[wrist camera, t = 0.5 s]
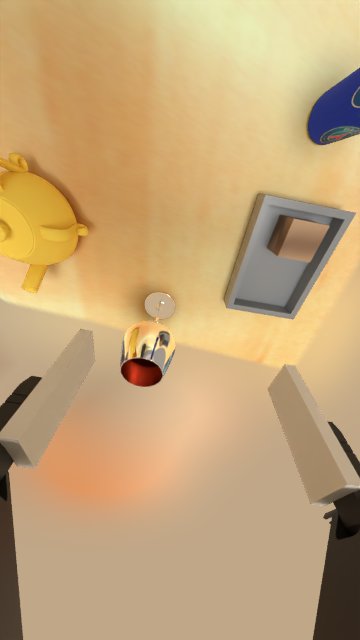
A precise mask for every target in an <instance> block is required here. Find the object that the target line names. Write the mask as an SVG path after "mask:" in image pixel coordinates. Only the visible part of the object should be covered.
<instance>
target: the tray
mask: <svg viewBox="0 0 360 640" xmlns="http://www.w3.org/2000/svg"><path fill="white" fill-rule="evenodd" d="M355 214H356V213H354V212H349V211H344V210H339V209H334V208H329V207H324V206H319V205H314V204H309V203H305V202H300V201H295V200H290V199H285V198H280V197H275V196H270V195H264V194H258V196H257V200H256V203H255V206H254V209H253V212H252V215H251V218H250V221H249V224H248V227H247V230H246V233H245V236H244V239H243V242H242V245H241V248H240V251H239V254H238V257H237V260H236V264H235V267H234V270H233V273H232V276H231V279H230V282H229V285H228V288H227V291H226V294H225V297H224V302H225V305H226V308H229V309H235V310H241V311H247V312H253V313H259V314H264V315H270V316H276V317H282V318H288V319H294V318H295V316H296V314H297V312H298V311H299V309H300V307H301V306H302V304H303V302H304V301H305V299H306V297H307V296H308V294H309V292H310V290H311V289H312V287H313V285H314V284H315V282H316V280H317V279H318V277H319V275H320V273H321V272H322V270H323V268H324V267H325V265H326V263H327V262H328V260H329V258H330V257H331V255H332V253H333V251H334V250H335V248H336V246H337V245H338V243H339V241H340V240H341V238H342V236H343V235H344V233H345V231H346V229H347V228H348V226H349V224H350V223H351V221H352V219H353V218H354V216H355ZM280 215H285V216H290V217H295V218H300V219H305V220H310V221H314V222H318V223H321V224H325V225H329V226H330V227H329V229H328V231H327V232H326V234H325V236H324V238H323V240H322V242H321V243H320V245H319V247H318V249H317V251H316V253H315V255H314V256H313V258H312V260H311V262H304V261H299V260H294V259H288V258H283V257H278V256H276V255H275V254H274V253H273V252H271V251H270V250H269V249H268V248H267V246H268V243H269V241H270V238H271V236H272V233H273V231H274V228H275V226H276V223H277V221H278V218H279V216H280Z"/></svg>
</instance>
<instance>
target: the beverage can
mask: <svg viewBox="0 0 360 640" xmlns="http://www.w3.org/2000/svg"><path fill="white" fill-rule="evenodd" d="M308 131H309V135H310V138H311V139H312V141H313V142H315V143H316V144H319V145H326V144H330V143H333V142H336V141H339V140H342V139H345V138H348V137H351V136H355V135H358V134H360V68H359V69H357V70H356V71H355V72H353V73H352V74H350V75H349V76H348V77H346V78H345V79H343V80H342V81H341V82H339V83H338V84H336V85H335V86H334V87H332V88H331V89H329V90H328V91H327V92H325V93H324V94H323V95H322V96H321V97H320V98H319V100H318V101H317V102H316V104H315V106H314V107H313V109H312V112H311V114H310V118H309V123H308Z"/></svg>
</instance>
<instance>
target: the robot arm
mask: <svg viewBox="0 0 360 640" xmlns="http://www.w3.org/2000/svg"><path fill="white" fill-rule="evenodd" d="M93 344H94V343H93V332H92V331H89V330H83V329H80V330H79V332H78V333H77V334H76V336H75V337H74V338H73V339H72V341H71V342H70V343H69V345H68V346H67V347H66V348H65V350H64V351H63V352H62V353H61V355H60V356H59V357H58V359H57V360H56V361H55V362H54V364H53V365H52V366H51V368H50V369H49V370H48V371H47V373H46V374H45V375H44V376H43V378H41V377H35V376H31V377H29V378H28V379H27V380H25V381H23V382H22V383H21V384H20V385H19V386H18V387H17V388H16V389H15V390H14V392H13V393H12V395H10V396H9V397H8V398H7V400H6V401H5V403H3V404H2V405H1V407H0V640H23V634H22V623H21V610H20V598H19V586H18V575H17V564H16V551H15V539H14V528H13V516H12V504H11V494H10V481H9V472H8V470H9V468H10V466H11V465H12V463H13V462H14V463H15V464H16V465H17V466H18V467H24V468H32V469H35V468H36V466H37V464H38V462H39V461H40V459H41V457H42V455H43V453H44V452H45V450H46V448H47V446H48V444H49V443H50V441H51V439H52V437H53V435H54V434H55V432H56V430H57V428H58V426H59V425H60V423H61V421H62V419H63V417H64V416H65V414H66V412H67V410H68V408H69V407H70V404H71V403H72V401H73V399H74V398H75V396H76V394H77V392H78V390H79V389H80V387H81V385H82V383H83V381H84V379H85V378H86V376H87V374H88V372H89V371H90V368H91V367H92V365H93V363H94V361H95V355H94V345H93ZM268 391H269V394H270V397H271V399H272V402H273V405H274V407H275V410H276V413H277V415H278V418H279V421H280V423H281V426H282V429H283V431H284V434H285V437H286V439H287V442H288V445H289V447H290V450H291V452H292V456H293V458H294V461H295V464H296V466H297V468H298V471H299V474H300V477H301V480H302V482H303V485H304V488H305V490H306V493H307V496H308V498H309V501H310V504H315V505H323V506H326V505H328V504H330V503H332V502H333V503H334V505H335V507H336V509H335V510H332V511H330V512H328V513H326V514H325V515H324V517H323V518H325V519H328V518H331V517H332V521H331V522H329V523H330V524H331V528H330V534H329V541H328V546H327V553H326V560H325V566H324V572H323V578H322V584H321V591H320V597H319V604H318V610H317V616H316V623H315V629H314V635H313V640H360V462H359V461H358V459H357V458H356V456H355V454H353V451H352V449H351V448H350V446H349V445H348V444H347V441H346V439H345V438H344V436H343V435H342V433H341V432H340V430H339V429H338V428H337V427H336V426H335V425H334V424H333V423H332V422H327V421H326V419H325V417H324V415H323V413H322V412H321V410H320V408H319V407H318V405H317V403H316V401H315V400H314V398H313V396H312V394H311V393H310V391H309V389H308V387H307V386H306V384H305V382H304V380H303V379H302V377H301V375H300V373H299V372H298V370H297V368H296V367H295V366H292V365H286V364H285V365H284V366H283V367H282V369H281V370H280V372H279V373H278V375H277V376H276V377H275V379H274V380H273V382H272V383H271V385H270V386H269V387H268Z"/></svg>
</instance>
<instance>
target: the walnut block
mask: <svg viewBox="0 0 360 640" xmlns="http://www.w3.org/2000/svg"><path fill="white" fill-rule="evenodd" d="M329 227H330V226H329V225H325V224H321V223H318V222H314V221H310V220H305V219H300V218H295V217H290V216H285V215H280V216H279V218H278V221H277V223H276V226H275V228H274V231H273V233H272V236H271V238H270V241H269V243H268V246H267V248H268V249H269V250H270V251H271V252H273V253H274V254H275V255H276V256H278V257H283V258H288V259H294V260H299V261H304V262H311V260H312V258H313V256H314V255H315V253H316V251H317V249H318V247H319V245H320V243H321V242H322V240H323V238H324V236H325V234H326V232H327V231H328V229H329Z"/></svg>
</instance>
